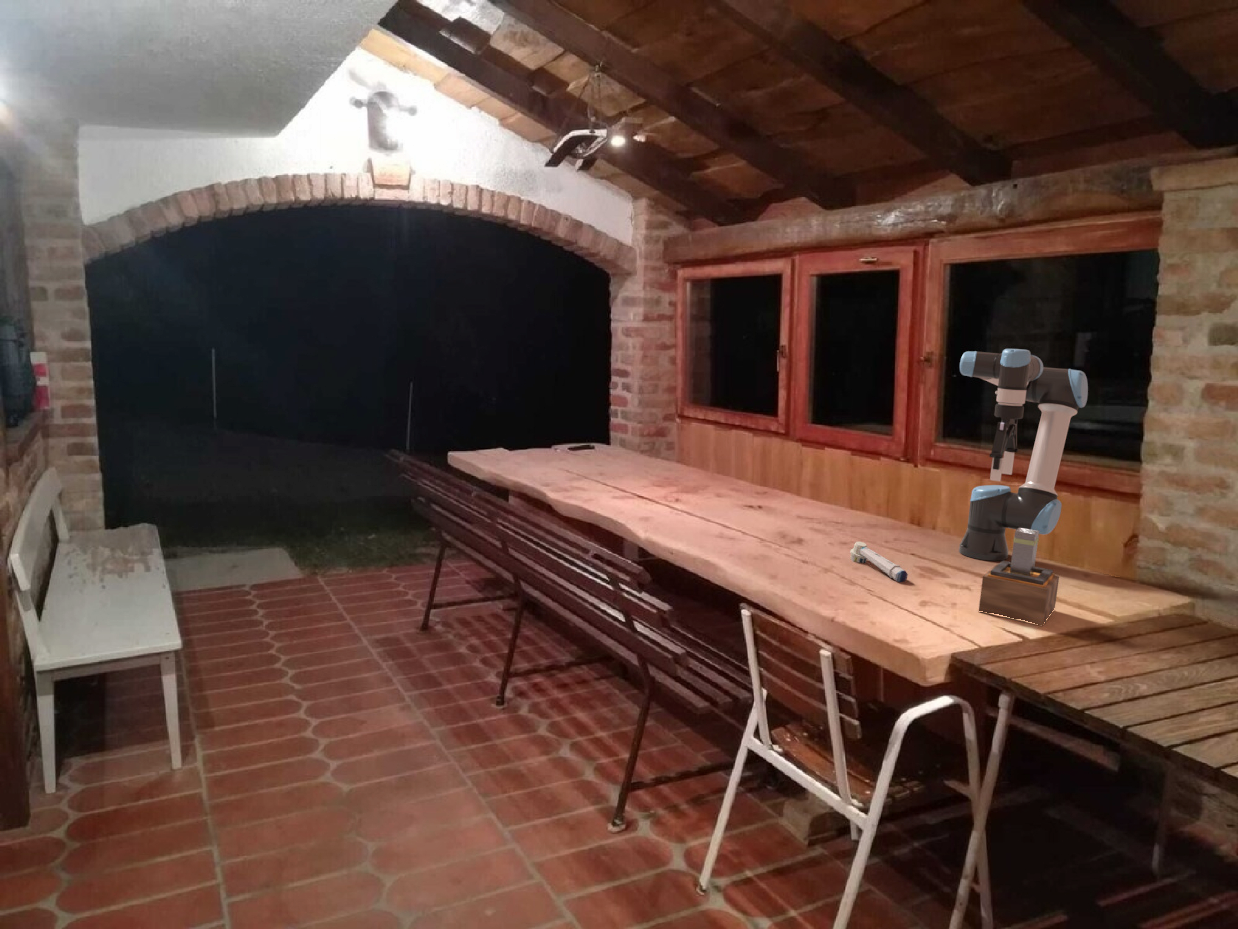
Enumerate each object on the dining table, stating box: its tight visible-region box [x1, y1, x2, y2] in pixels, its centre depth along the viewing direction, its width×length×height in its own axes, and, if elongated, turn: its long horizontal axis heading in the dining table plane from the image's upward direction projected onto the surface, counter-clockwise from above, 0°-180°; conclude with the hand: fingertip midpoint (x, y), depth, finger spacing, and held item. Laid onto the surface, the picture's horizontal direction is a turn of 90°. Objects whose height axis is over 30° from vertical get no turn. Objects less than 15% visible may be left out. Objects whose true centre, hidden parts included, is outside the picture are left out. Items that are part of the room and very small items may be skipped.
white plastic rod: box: [849, 541, 909, 583], centre depth 280 cm, size 5×7×25 cm
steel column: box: [1010, 528, 1040, 577], centre depth 244 cm, size 5×5×12 cm
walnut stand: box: [978, 560, 1060, 627], centre depth 246 cm, size 16×16×12 cm
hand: (1001, 477), depth 263 cm, fingers open, 13 cm apart
